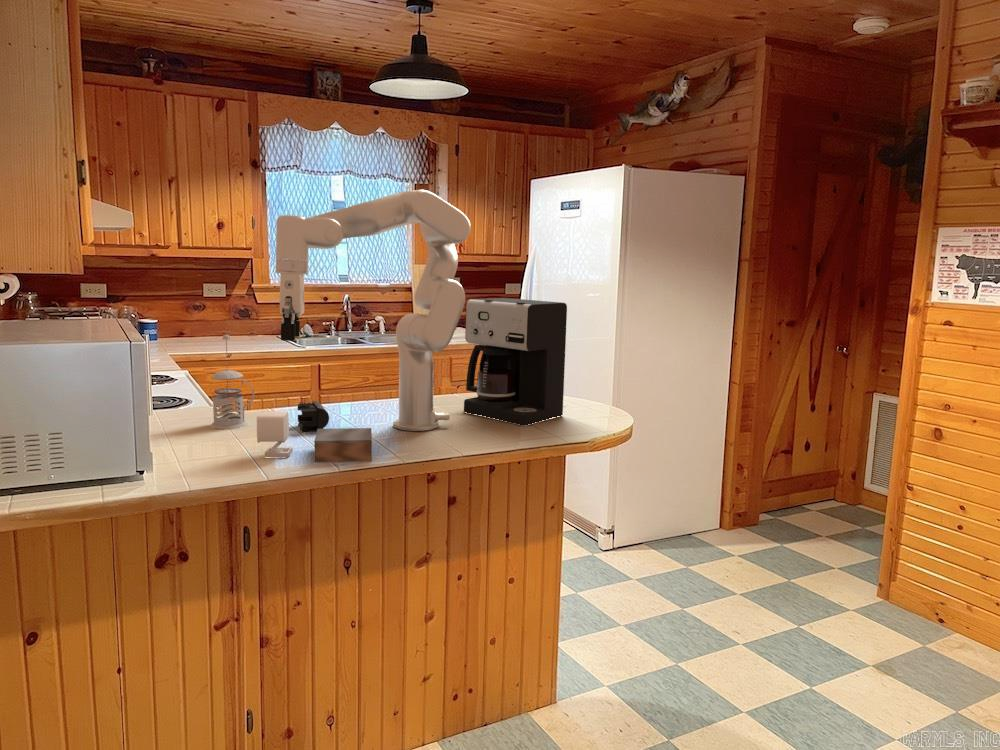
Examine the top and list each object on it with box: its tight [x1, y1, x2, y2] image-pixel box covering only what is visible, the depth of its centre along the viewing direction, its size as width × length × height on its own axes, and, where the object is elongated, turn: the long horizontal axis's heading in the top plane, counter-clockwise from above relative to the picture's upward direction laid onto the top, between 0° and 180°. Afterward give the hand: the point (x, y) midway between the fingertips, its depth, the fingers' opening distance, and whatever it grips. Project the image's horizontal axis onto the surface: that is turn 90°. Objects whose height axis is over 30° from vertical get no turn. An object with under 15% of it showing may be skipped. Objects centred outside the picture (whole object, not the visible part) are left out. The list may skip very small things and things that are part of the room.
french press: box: [210, 334, 255, 430], centre depth 205 cm, size 10×12×25 cm
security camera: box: [256, 411, 293, 458], centre depth 177 cm, size 6×7×10 cm
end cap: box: [297, 400, 330, 433], centre depth 205 cm, size 10×7×7 cm
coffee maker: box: [463, 297, 568, 426], centre depth 228 cm, size 28×20×35 cm
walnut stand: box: [314, 427, 373, 463], centre depth 180 cm, size 13×12×5 cm
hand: (290, 338), depth 183 cm, fingers open, 9 cm apart
